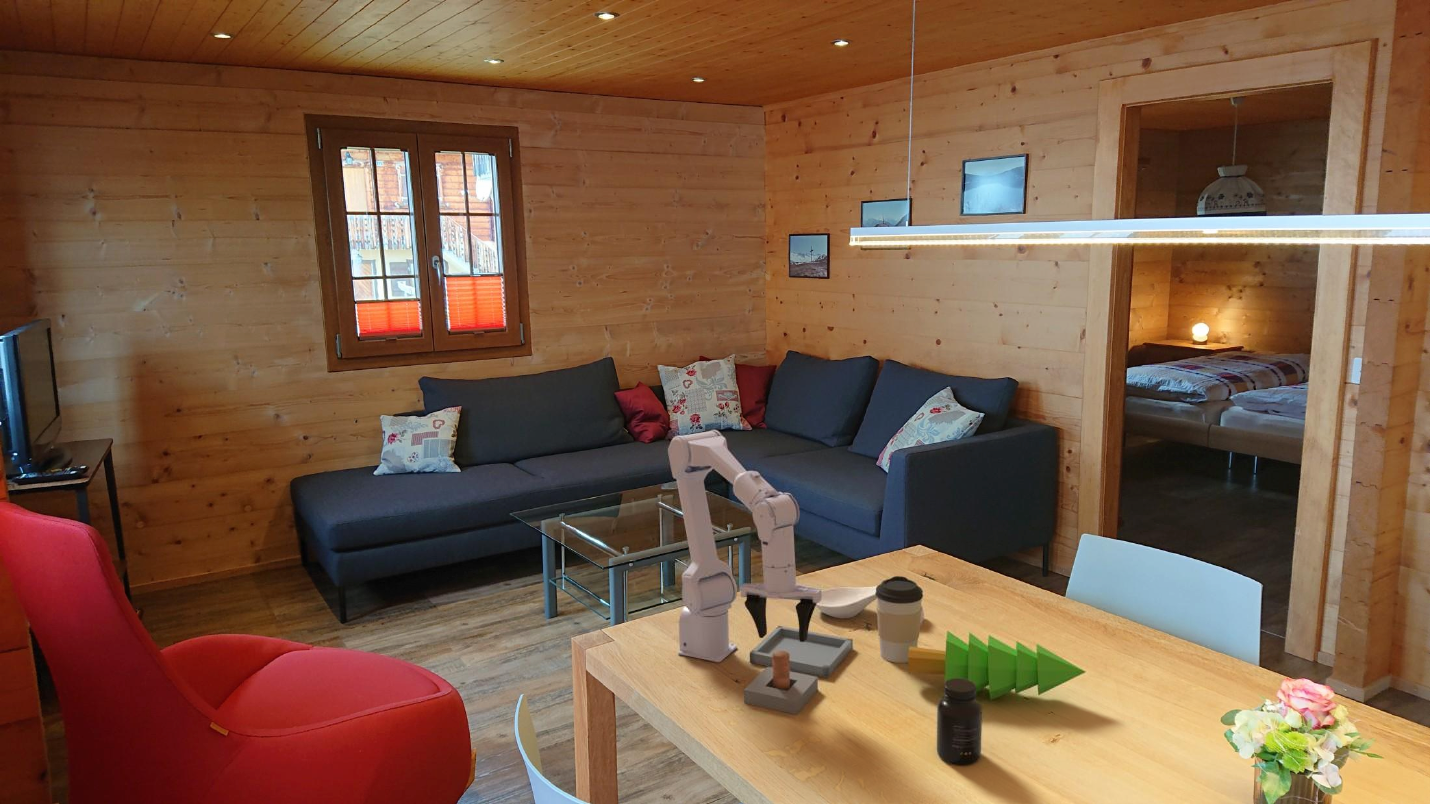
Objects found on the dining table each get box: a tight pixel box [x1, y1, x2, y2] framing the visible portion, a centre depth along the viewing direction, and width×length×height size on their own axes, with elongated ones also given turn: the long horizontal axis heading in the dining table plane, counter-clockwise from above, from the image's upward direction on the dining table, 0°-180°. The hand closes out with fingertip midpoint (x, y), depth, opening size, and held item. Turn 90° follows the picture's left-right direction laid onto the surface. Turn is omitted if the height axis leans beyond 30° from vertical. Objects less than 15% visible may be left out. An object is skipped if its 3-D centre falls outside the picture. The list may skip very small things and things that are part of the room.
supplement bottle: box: [936, 678, 983, 767], centre depth 149 cm, size 7×7×12 cm
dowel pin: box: [772, 651, 790, 691], centre depth 170 cm, size 3×3×8 cm
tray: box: [749, 625, 854, 679], centre depth 186 cm, size 16×14×2 cm
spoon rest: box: [815, 585, 925, 626], centre depth 205 cm, size 24×12×7 cm, turn 70°
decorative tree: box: [907, 630, 1086, 701], centre depth 168 cm, size 11×12×30 cm
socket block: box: [743, 666, 819, 716], centre depth 170 cm, size 10×10×2 cm
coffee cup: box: [875, 575, 924, 664], centre depth 185 cm, size 9×9×15 cm
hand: (783, 637), depth 169 cm, fingers open, 7 cm apart
